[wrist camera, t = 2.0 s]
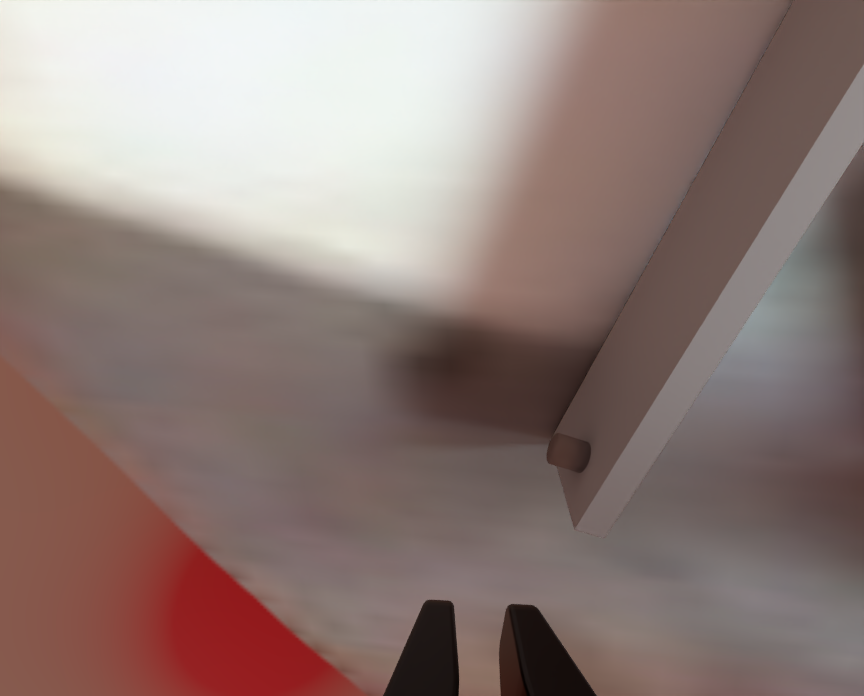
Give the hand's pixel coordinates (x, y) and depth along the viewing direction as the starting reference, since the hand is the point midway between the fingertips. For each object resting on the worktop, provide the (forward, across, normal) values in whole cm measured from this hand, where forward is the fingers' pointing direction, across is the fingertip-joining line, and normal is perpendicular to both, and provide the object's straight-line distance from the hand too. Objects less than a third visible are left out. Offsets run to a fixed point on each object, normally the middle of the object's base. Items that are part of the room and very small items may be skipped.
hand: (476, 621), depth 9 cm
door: (+13, -7, -4) cm, 15 cm away
